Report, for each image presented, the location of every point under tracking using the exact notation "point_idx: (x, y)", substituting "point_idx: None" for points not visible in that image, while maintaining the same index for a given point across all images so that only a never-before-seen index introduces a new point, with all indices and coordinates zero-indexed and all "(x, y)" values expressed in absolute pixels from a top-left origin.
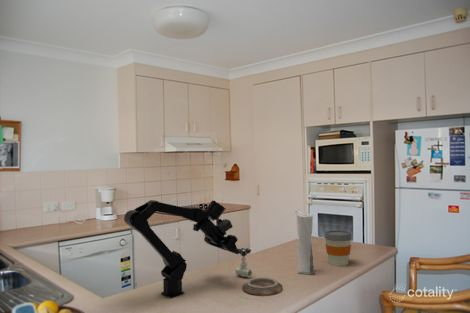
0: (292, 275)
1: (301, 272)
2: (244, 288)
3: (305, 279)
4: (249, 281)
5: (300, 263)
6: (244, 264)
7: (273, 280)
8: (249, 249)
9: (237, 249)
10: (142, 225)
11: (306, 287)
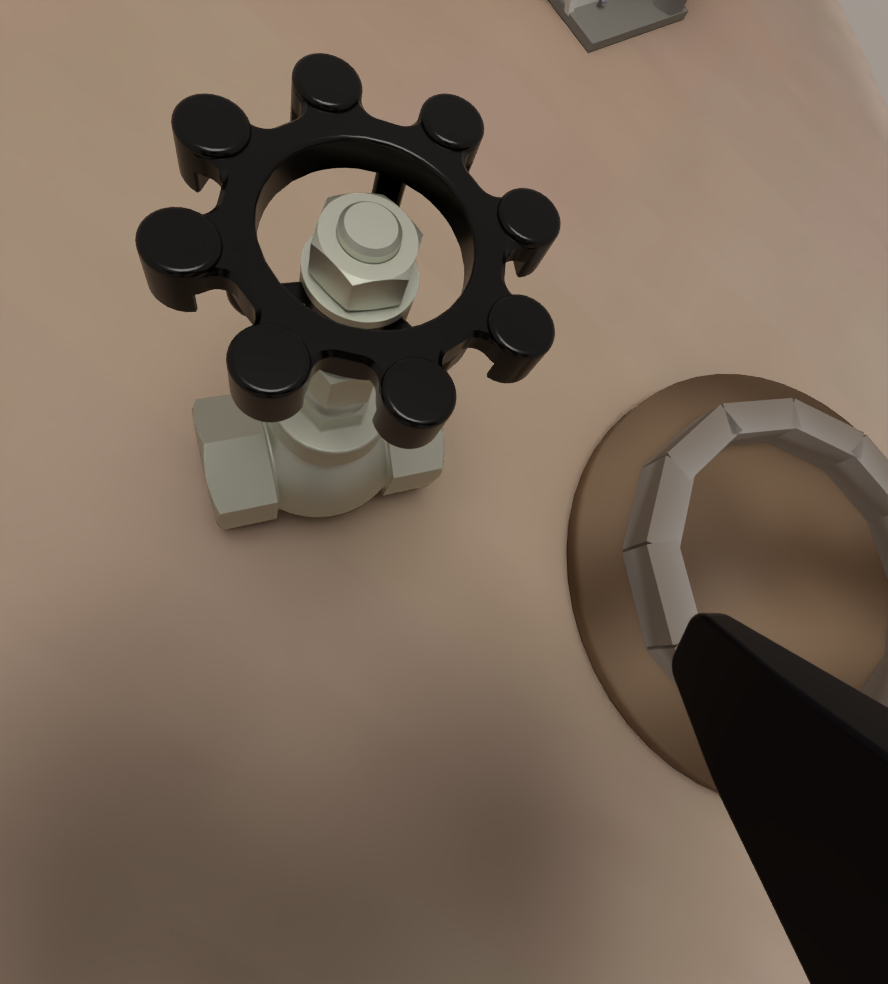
0: (594, 110)
1: (598, 18)
2: None
3: (731, 134)
4: None
5: None
6: (367, 408)
7: (809, 431)
8: (449, 117)
9: (869, 705)
10: None
11: (878, 278)
